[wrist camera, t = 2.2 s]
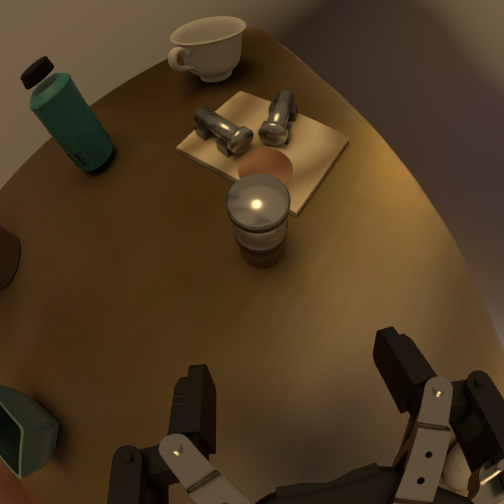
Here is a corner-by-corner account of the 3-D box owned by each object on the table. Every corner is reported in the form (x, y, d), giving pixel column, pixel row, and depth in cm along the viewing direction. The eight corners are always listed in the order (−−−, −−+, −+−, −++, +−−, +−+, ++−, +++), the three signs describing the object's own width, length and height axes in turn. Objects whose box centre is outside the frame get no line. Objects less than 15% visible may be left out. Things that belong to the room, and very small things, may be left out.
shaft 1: (255, 145, 33) (253, 123, 29) (233, 162, 32) (229, 140, 28) (214, 118, 35) (209, 98, 31) (194, 133, 34) (187, 112, 30)
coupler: (230, 253, 29) (212, 206, 20) (256, 219, 30) (250, 162, 21) (267, 278, 28) (266, 240, 18) (293, 242, 29) (303, 191, 20)
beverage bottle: (121, 139, 37) (64, 39, 18) (115, 172, 34) (42, 66, 15) (87, 151, 37) (25, 63, 18) (79, 184, 34) (2, 94, 16)
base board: (177, 153, 34) (174, 148, 33) (240, 95, 38) (240, 90, 37) (294, 218, 30) (295, 213, 29) (348, 142, 33) (349, 137, 32)
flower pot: (31, 381, 24) (-17, 379, 16) (73, 419, 23) (23, 428, 15) (23, 428, 22) (-20, 432, 13) (64, 466, 20) (21, 481, 12)
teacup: (158, 95, 40) (140, 50, 30) (210, 55, 44) (202, 14, 34) (212, 110, 37) (199, 56, 28) (263, 66, 41) (260, 19, 31)
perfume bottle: (478, 418, 20) (543, 427, 8) (474, 474, 16) (528, 495, 5) (433, 445, 20) (497, 472, 8) (431, 501, 16) (480, 536, 5)
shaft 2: (286, 150, 32) (287, 128, 28) (258, 145, 33) (256, 123, 29) (297, 110, 35) (299, 89, 31) (272, 106, 35) (272, 85, 31)
